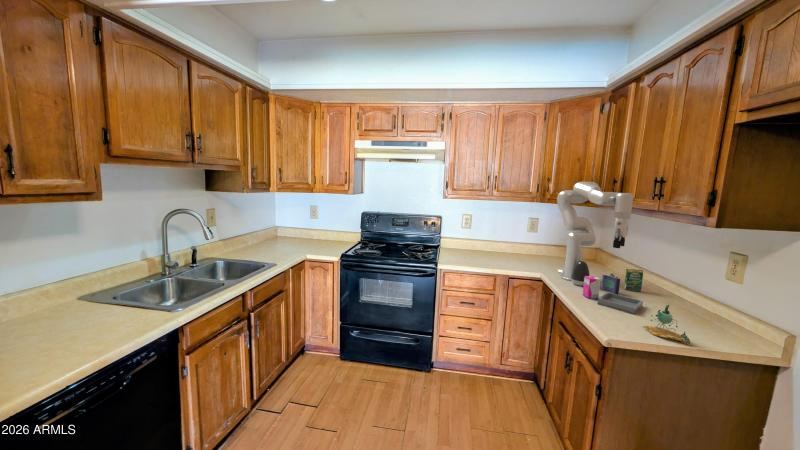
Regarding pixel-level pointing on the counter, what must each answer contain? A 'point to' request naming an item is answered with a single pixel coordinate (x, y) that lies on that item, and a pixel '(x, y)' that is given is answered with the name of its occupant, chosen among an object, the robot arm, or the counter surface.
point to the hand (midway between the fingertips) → (618, 246)
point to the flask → (610, 283)
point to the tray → (620, 303)
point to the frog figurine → (666, 319)
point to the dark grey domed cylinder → (580, 273)
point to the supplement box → (591, 287)
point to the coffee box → (633, 280)
